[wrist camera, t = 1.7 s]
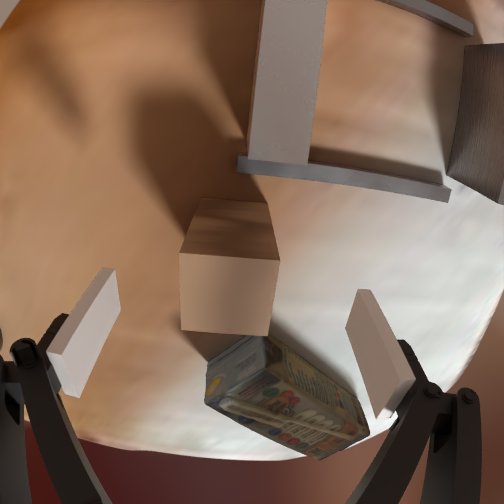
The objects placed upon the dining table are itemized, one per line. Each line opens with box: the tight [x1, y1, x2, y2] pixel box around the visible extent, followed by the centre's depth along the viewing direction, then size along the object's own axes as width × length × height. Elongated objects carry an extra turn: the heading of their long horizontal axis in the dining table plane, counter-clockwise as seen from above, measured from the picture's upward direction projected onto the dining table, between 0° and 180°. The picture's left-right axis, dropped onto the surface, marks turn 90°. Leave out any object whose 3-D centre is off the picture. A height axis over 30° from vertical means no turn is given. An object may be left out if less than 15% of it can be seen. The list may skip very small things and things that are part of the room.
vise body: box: [236, 0, 504, 205], centre depth 17 cm, size 20×16×7 cm
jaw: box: [246, 0, 327, 165], centre depth 16 cm, size 3×12×7 cm, turn 174°
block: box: [179, 198, 280, 336], centre depth 21 cm, size 5×5×9 cm
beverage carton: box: [204, 333, 370, 460], centre depth 31 cm, size 8×19×7 cm, turn 43°
